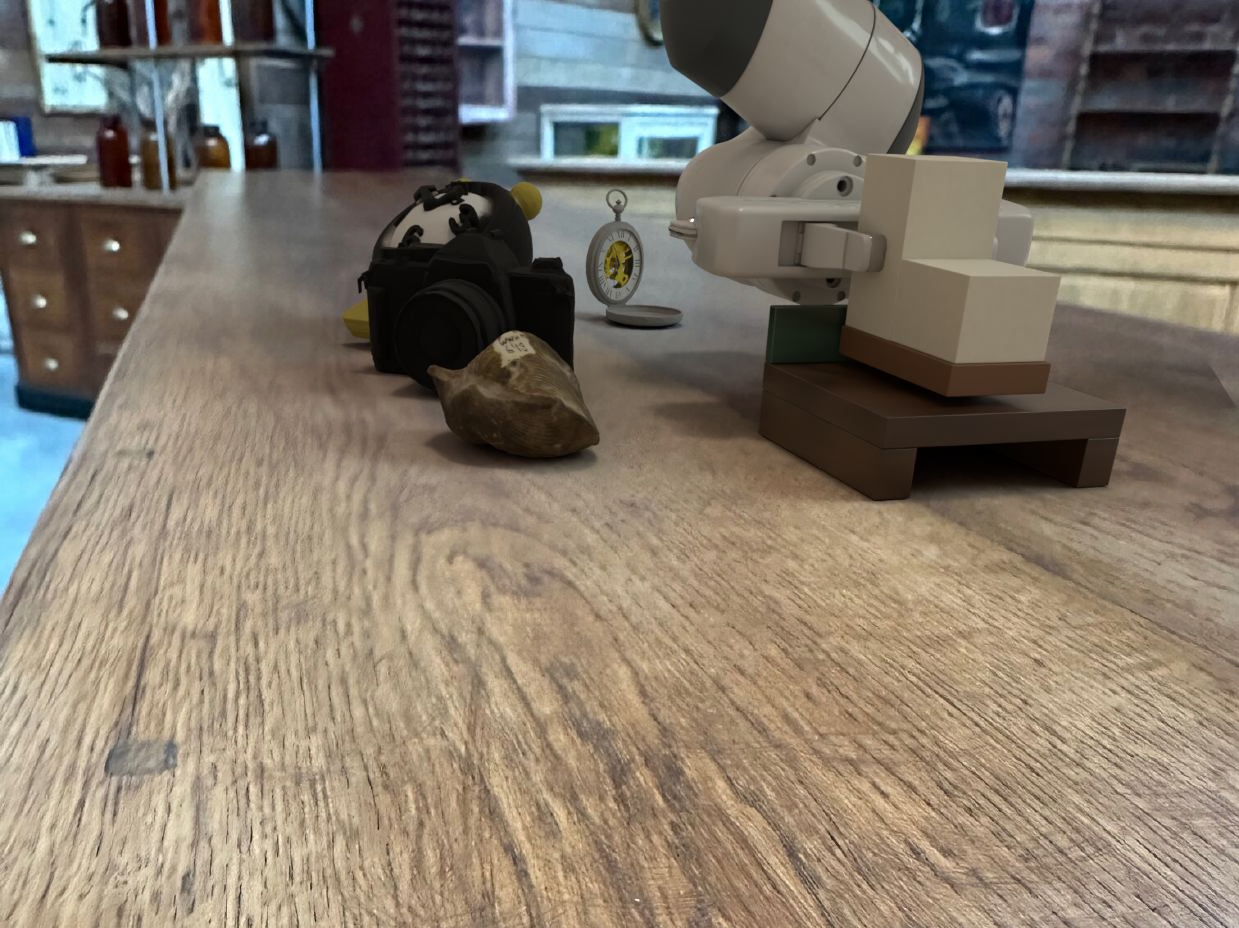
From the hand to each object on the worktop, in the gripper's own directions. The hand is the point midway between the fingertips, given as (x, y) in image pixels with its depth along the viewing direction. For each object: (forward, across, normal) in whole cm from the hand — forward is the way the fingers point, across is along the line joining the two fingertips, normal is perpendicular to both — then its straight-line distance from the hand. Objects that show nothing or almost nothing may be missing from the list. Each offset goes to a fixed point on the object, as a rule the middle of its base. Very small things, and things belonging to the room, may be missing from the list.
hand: (931, 255), depth 65 cm
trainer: (+2, 0, +6) cm, 6 cm away
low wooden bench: (+2, 0, +10) cm, 10 cm away
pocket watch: (-44, -1, +10) cm, 45 cm away
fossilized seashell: (-4, -22, +10) cm, 24 cm away
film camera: (-21, -21, +10) cm, 31 cm away
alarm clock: (-38, -18, +10) cm, 44 cm away
